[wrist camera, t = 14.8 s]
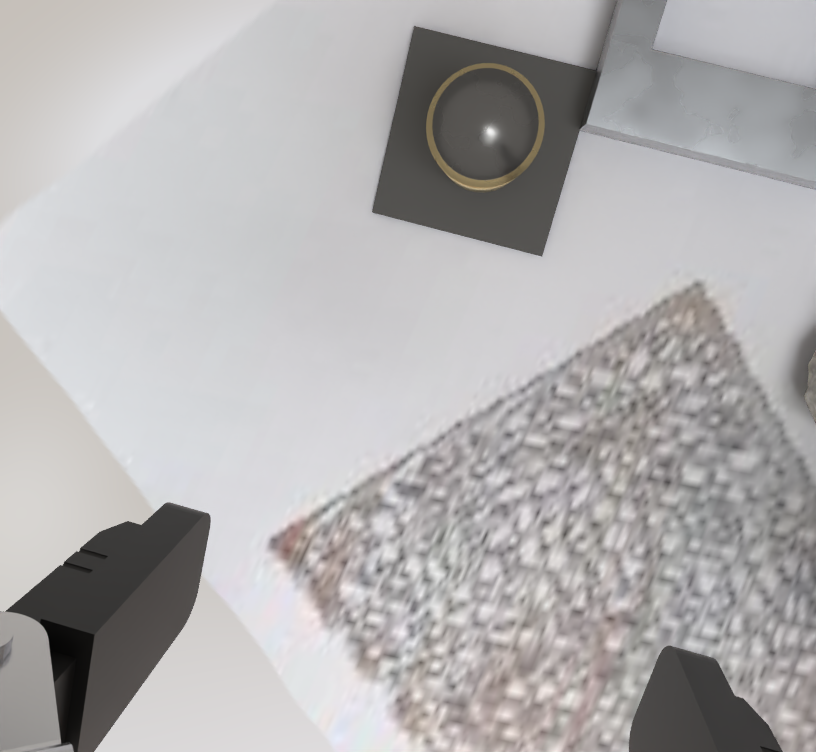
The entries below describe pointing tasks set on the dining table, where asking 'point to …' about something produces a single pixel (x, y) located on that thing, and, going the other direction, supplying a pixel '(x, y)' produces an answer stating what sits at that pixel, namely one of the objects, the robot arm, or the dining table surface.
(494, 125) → the tan cylinder
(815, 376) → the mineral
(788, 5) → the dining table surface
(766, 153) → the block
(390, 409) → the dining table surface
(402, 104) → the mat
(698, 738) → the robot arm
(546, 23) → the dining table surface
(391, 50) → the dining table surface
